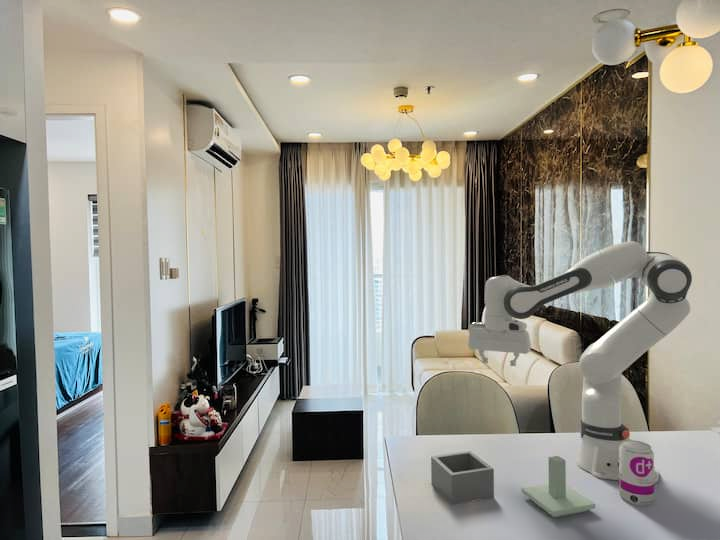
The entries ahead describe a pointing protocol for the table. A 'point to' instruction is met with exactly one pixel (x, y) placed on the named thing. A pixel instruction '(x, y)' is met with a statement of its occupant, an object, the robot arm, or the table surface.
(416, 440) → the table surface
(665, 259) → the robot arm
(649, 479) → the supplement can
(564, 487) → the lid
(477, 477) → the tub
